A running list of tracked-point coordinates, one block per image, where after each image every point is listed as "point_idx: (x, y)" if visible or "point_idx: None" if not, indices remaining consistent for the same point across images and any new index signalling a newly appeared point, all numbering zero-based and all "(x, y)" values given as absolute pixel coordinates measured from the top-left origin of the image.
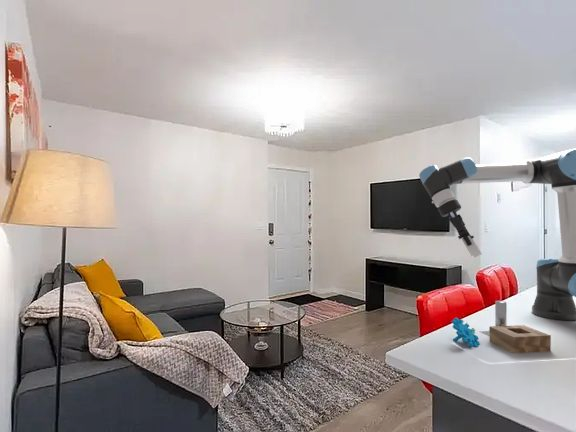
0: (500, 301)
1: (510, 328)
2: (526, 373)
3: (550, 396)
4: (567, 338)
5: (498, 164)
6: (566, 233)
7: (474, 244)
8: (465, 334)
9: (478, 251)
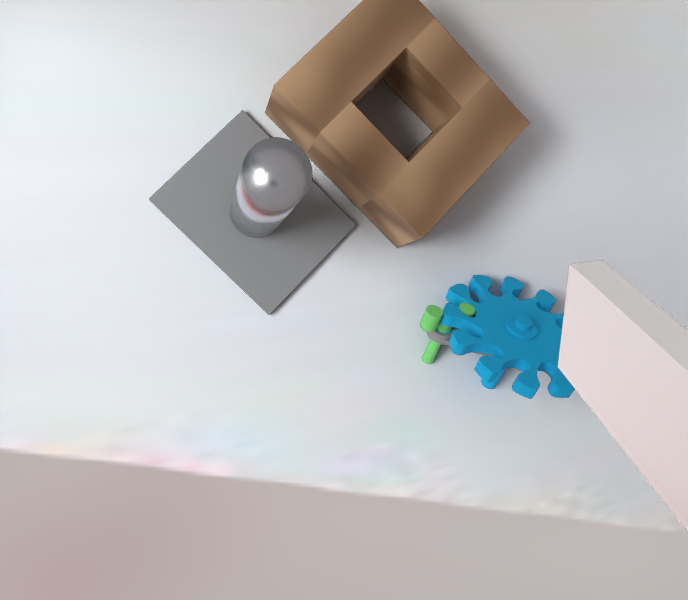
0: (263, 175)
1: (389, 142)
2: (651, 100)
3: None
4: None
5: None
6: None
7: (683, 332)
8: (547, 326)
9: (610, 273)
